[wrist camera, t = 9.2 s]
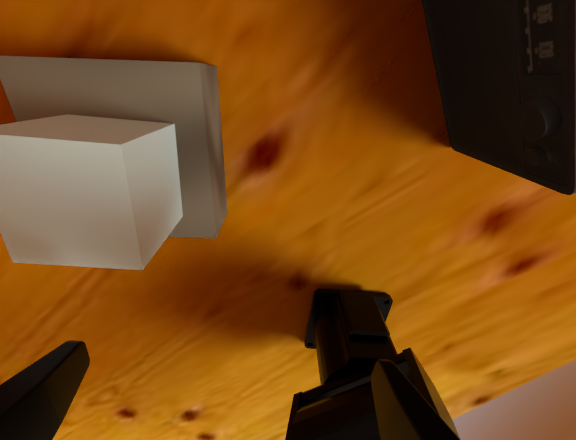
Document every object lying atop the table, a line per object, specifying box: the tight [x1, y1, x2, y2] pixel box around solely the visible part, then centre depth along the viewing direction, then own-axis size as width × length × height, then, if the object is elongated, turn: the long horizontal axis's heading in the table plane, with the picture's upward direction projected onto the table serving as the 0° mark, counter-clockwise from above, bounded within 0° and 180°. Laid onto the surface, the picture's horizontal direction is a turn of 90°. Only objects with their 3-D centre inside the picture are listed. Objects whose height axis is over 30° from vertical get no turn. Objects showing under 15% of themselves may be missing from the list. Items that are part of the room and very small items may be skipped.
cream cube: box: [0, 114, 183, 270], centre depth 12 cm, size 5×5×5 cm
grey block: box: [0, 56, 227, 238], centre depth 16 cm, size 9×9×4 cm
